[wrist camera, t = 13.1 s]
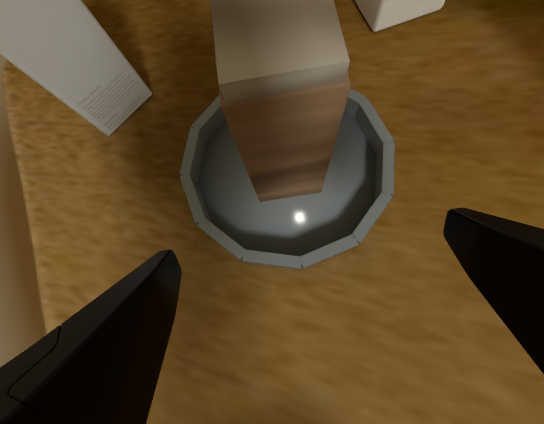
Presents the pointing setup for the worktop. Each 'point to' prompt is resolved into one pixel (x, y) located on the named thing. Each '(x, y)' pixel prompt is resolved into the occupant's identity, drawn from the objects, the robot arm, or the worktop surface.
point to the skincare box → (71, 59)
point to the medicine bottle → (395, 11)
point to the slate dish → (294, 210)
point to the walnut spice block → (281, 89)
